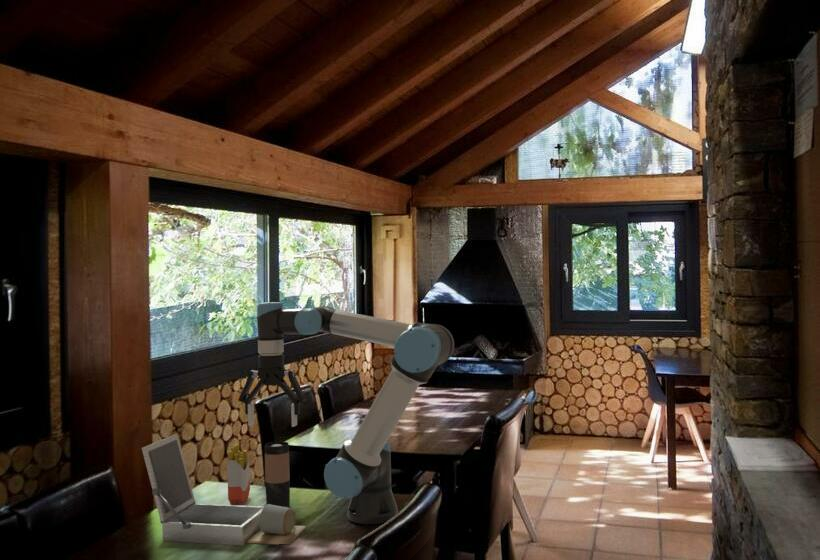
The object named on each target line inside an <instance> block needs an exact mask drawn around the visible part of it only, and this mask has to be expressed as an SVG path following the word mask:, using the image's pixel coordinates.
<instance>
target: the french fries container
mask: <svg viewBox="0 0 820 560" xmlns="http://www.w3.org/2000/svg"><path fill="white" fill-rule="evenodd" d="M226 462H227V463H226V464H227V465H226V467H227V499H228V502H229V505H244V504H245V503H246V502H247V501H248V500H249V495H250V491H251V480H250V477H251V475H250V458H249V453H248V450H246V449H241V451H240V443H234V444H233V447H232V446H231V447H230V450H229V451H227V461H226ZM246 500H247V501H246ZM245 501H246V502H245ZM244 502H245V503H244Z"/></svg>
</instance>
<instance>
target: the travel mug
mask: <svg viewBox="0 0 820 560" xmlns="http://www.w3.org/2000/svg"><path fill="white" fill-rule="evenodd" d="M290 472H291V471H290V444H289V443H288V442H287V441H270V442H267V443H265V444H264V479H265V480H264V481H265V482H264V484H265V497H266V498H265V499H266V505H267V504H271V505H276V506H282V507H288V508H290V506H291V505H290V503H291V501H290V500H291V499H290V498H291V497H290V496H291V485H290V484H291V482H290V481H291V477H290V476H291V474H290Z"/></svg>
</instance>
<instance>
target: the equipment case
mask: <svg viewBox="0 0 820 560" xmlns="http://www.w3.org/2000/svg"><path fill="white" fill-rule="evenodd" d="M180 442H181V441H180V440H179V436H178V433H176V434H172V435H170V436H168V437H166V438H165V437H164V438H163V439H160V440H157V441H155V442H153V443H151V444H148V445H146V446H143V447H141V451H142V455H143V459H144V463H145V466H146V470H147V473H148V479H149V481H150V486H151V489H152V491H151V492H152V496H154V501H155V505H156V508H157V512H158V515H159V520H160V521H159V522H160V524H161V527H162V541H163V542H179V543H195V544H197V543H199V544H214V545H229V546H231V545H232V546H244V545H246V544H247V543H248V540H249V539H250V538H251V537H252V536H254V535H255V534H256V533H257V532H258V531H260V526H259V520H260V514H261V511H262V509H263V508H264V506H265V505H263V506H262V505H261V506H259V505H242V504H215V503H196V499H195V495H194V492H193V488H192V484H191V481H190V476H189V474H188V470H187V465H186V462H185V458H184V453H183V451H182V446H181V444H180ZM203 521H204V522H203ZM193 522H194V523H193ZM200 522H203V523H200ZM221 522H224V523H223V524H222V523H221ZM219 523H220V524H219ZM225 523H226V524H225ZM233 524H234V525H233ZM239 524H240V525H239Z"/></svg>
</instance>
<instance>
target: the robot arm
mask: <svg viewBox="0 0 820 560" xmlns="http://www.w3.org/2000/svg"><path fill="white" fill-rule="evenodd" d="M283 306H284V305H283V303H282V302H281V301H280V302H279V301H277V302H276V301H275V302H274V301H271V302H267V301H266V302H260V303H258V304H257V309H256V310H257V311H256V313H257V314H256V315H257V316H256V319H257V320H256V322H257V323H256V325H257V353H258V354H259V355H258V356H257V357H258V359H257V365H258V366H257V367H258V370H255V369H251V370H249V371H248V372H247V380H246V382H245V383H244V386H243V388H242V390H241V393H240V395H239V396H238V397H239V398H238V402H240V403H241V402H242V403H244V412H245V415H247V426H248V427H252V426H254V425H255V404H254V403H255V402H253V401H254V398H255V397H256V396H257V394H258V393H259V392H260V391H261V390H262V388H263V387H264V386H266V387H268V386H272V387H276V386H278V387H279V388H280V389H281V390H282V391H283V392H284V394H286V396H287V397H288V398H289V400H291V402H292V404H290V405H291V406H290V410H291V412H290V413H291V428H294V427H296V426H298V415H300V413H301V403H303V402H305V401H306V400H307V397H306V396H305V393H304V391H303V389H302V388H301V386H300V383H299V381H298V379H297V377H296V371H295V370H294V369H291V370H285V355H284V354H283V353H284V352H285V350H284V349H285V348H284V347H285V346H284V335H303V336H307V335H316V334H317V333H319V332H323V333H327V334H332V335H337V336H342V337H346V338H351V339H356V340H360V341H364V342H365V341H366V342H369V343H374V344H378V345H382V346H383V345H384V346H387V347H392V348H393V353H394V354H393V356H392V358H391V359H390V366H391V371H390V372H389V375H388V376H387V377H386V380H385V382H384V383H383V385H382V387H381V389H380V390H379V392H378V393H377V395H376V398H375V399H374V401H373V402H372V404H371V406H370V407H369V409H368V412H367V413H366V415H365V417H364V419H363V420H362V421H361V424H360V425H359V427H358V429H357V431H356V433H355V434H354V436H353V438H349V439H348V438H347V439H346V440H345V441H344V443H343V444H342V447H341V448H340V450H339V451H338V453H337V455H336V456H335V457H334V458H331V459H330V460H329V462H328V463H327V464H325V467H324V470H323V471H324V472H323V479H324V482H325V485H326V488H327V489H328V490H329V491H330V493H332V494H333V495H334V496H335V497H337V498H340V499H342V500H345V499H346V500H347V499H348V500H349V504H348V507H347V513H346V514H347V520H349V521H350V522H352V523H356V524H361V525H380V524H385V523H386V522H385V521H387V520H389V519H390V518H391V517H393V516H394V515H396V514H397V513H399V509H398V505H397V501H396V499H395V497H394V494H393V491H392V459H391V458H392V457H391V456H392V454H391V453H392V451H391V444H390V442H389V441H388V440H389V439H390V436H391V435H392V433H393V432H394V430H395V428H396V426H397V424H398V422H399V421H400V420H401V418H402V415H403V414H404V412H405V411H406V408H408V405H409V404H410V403H411V401H412V399H413V397H414V395H415V393H416V391H417V390H418V388H419V386H420V385H423V384H424V385H425V384H427V383H428V382H429V380H430V379H431V377H432V375H433V374H434V372H435V370H436V368H437V367H438V366H441V365H442V364H444V363H446V362H447V361H448V360H449V359H450V358H451V357H452V355H453V352H454V349H455V340H454V339H455V338H454V337H453V334H452V333H451V331H449V329H447V328H446V327H445V326H443V325H440V324H436V323H424V322H419V321H415V322H413V323H412V324H410V323H406V322H401V321H400V322H399V321H395V320H389V319H387V318H380V317H375V316H371V315H365V314H359V313H355V312H349V311H345V310H339V309H335V308H334V307H331V306H328V305H323V306H314V307H304V308H301V307H300V308H284V307H283ZM257 377H258V379H259V381H258V382H257V383H256V385H255V387H253V389H252V390H251V387H252V385H253V383H254V381H255V378H257ZM285 377H286V378H288V380H289V382H290V384H291V386H292V388H293V390H292V388H291V387H290V386H289V385H288V383H287V381H286V380H285V379H284V378H285ZM250 390H251V392H250ZM249 392H250V393H249ZM384 522H385V523H384Z"/></svg>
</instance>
